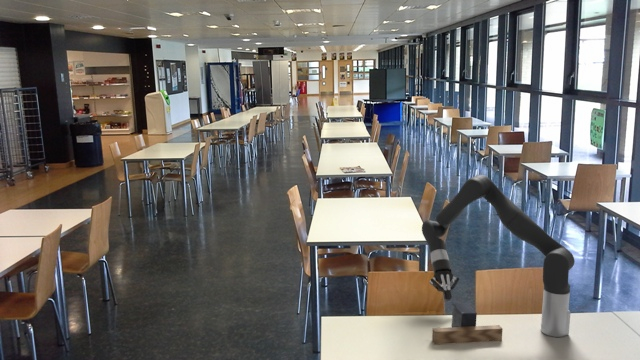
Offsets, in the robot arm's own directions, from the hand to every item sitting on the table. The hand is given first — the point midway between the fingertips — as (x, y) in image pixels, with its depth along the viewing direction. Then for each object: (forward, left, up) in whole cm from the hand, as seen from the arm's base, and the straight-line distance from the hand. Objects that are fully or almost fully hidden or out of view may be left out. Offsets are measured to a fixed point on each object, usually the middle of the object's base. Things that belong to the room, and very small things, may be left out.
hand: (448, 300), depth 227 cm
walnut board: (0, +22, -7) cm, 23 cm away
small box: (-1, +15, -7) cm, 17 cm away
